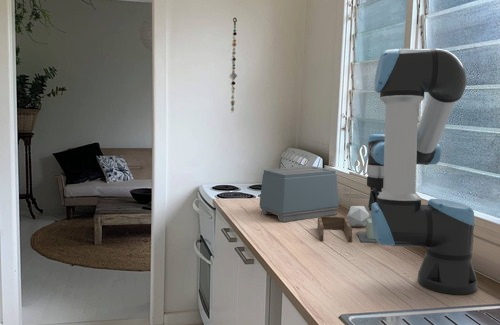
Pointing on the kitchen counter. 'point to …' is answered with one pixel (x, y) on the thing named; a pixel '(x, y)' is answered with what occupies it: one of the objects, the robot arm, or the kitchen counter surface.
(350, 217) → the die
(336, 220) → the brown u-shaped bracket
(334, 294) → the kitchen counter surface
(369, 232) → the block
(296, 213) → the toaster
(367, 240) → the mat
